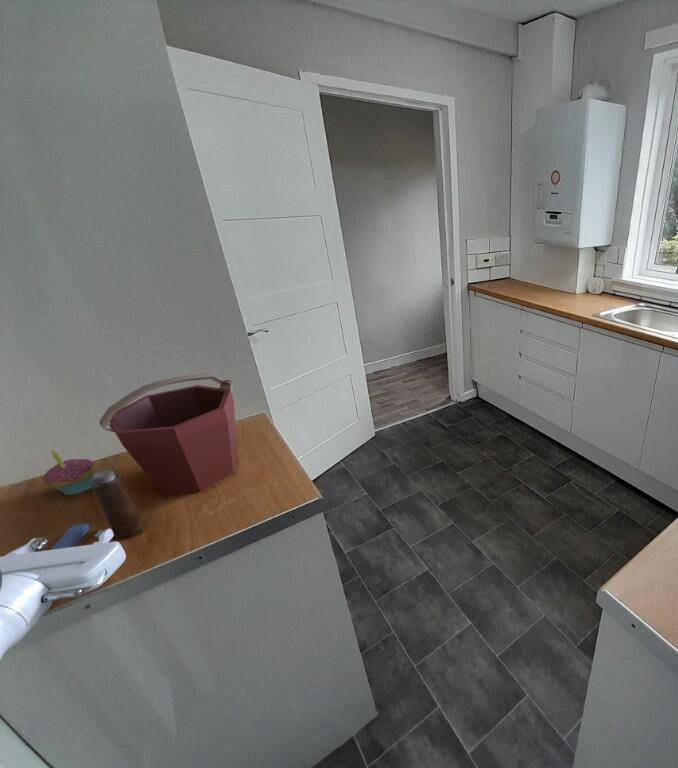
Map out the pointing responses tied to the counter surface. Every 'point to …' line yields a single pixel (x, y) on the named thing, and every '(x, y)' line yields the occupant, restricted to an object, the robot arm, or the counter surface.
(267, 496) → the counter surface
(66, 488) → the cupcake
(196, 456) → the bucket
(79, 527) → the blue stick
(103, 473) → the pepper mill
